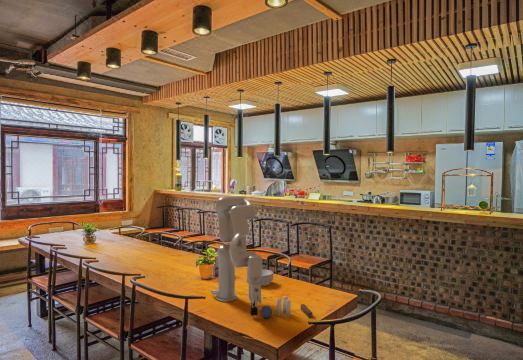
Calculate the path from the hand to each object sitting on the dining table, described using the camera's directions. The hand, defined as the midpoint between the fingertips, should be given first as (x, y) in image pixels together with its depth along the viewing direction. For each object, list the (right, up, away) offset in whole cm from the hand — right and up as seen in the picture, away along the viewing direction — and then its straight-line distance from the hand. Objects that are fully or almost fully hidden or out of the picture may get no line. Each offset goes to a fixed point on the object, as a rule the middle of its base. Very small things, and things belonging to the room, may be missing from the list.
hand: (253, 314), depth 179 cm
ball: (+7, +1, +1) cm, 7 cm away
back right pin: (+18, -2, +2) cm, 18 cm away
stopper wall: (+28, -2, +7) cm, 29 cm away
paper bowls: (+4, -1, +54) cm, 54 cm away
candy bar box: (-27, 0, +73) cm, 78 cm away
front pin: (+13, -2, +4) cm, 14 cm away
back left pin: (+16, -2, +7) cm, 18 cm away
